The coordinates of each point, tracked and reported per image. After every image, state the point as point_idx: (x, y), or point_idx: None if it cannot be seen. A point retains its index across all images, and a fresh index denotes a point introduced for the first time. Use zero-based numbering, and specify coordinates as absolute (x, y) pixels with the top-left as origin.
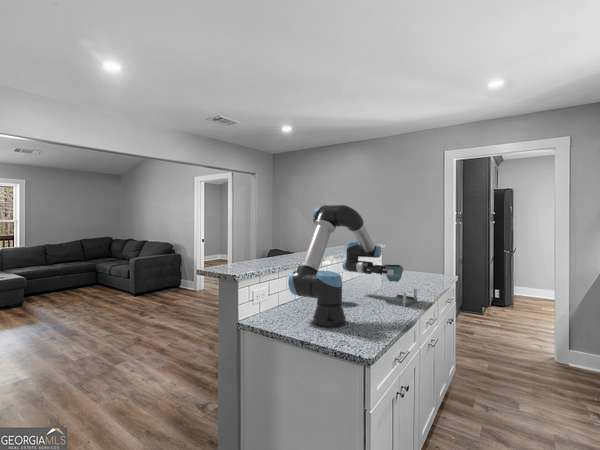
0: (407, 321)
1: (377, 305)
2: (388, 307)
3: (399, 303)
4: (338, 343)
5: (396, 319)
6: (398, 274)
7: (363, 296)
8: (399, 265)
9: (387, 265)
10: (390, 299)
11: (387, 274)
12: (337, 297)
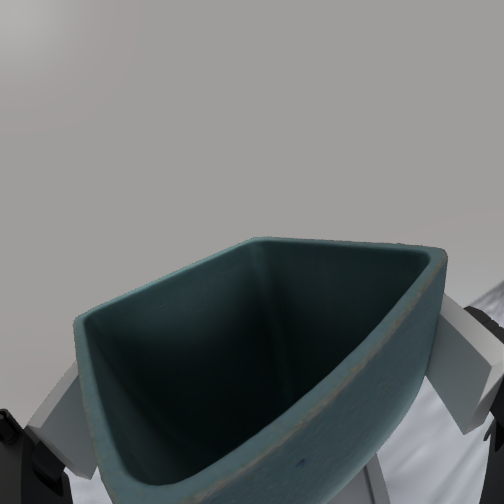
0: (473, 304)
1: (479, 484)
2: (449, 438)
3: None
4: None
5: (495, 318)
6: (305, 332)
7: None
8: (109, 308)
9: (131, 454)
10: (384, 484)
11: (413, 398)
12: None
